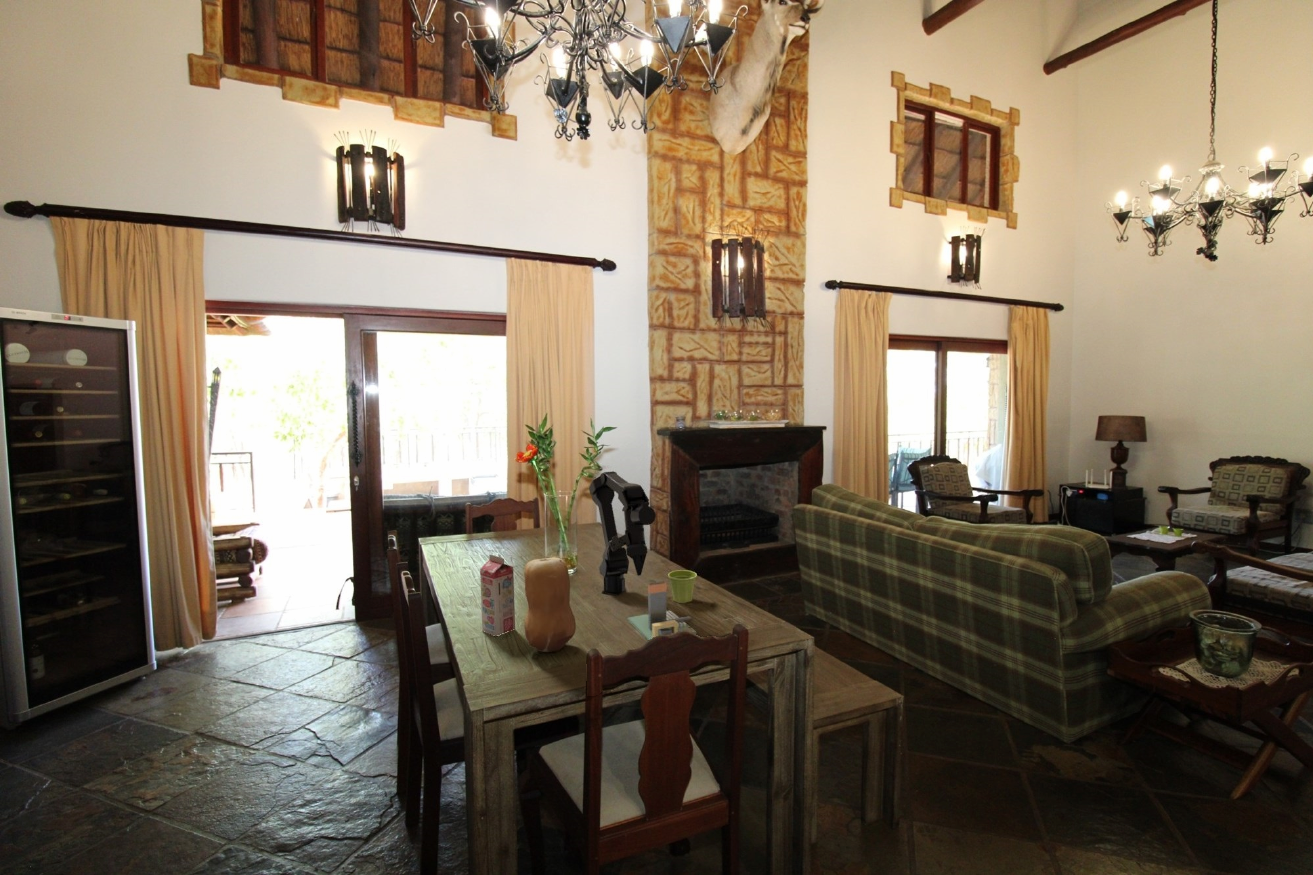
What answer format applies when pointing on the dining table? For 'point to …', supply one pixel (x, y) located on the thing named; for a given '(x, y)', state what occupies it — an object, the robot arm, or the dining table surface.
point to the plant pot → (682, 585)
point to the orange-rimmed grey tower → (659, 607)
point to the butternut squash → (548, 604)
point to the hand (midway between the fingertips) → (639, 575)
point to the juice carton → (497, 596)
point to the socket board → (645, 625)
